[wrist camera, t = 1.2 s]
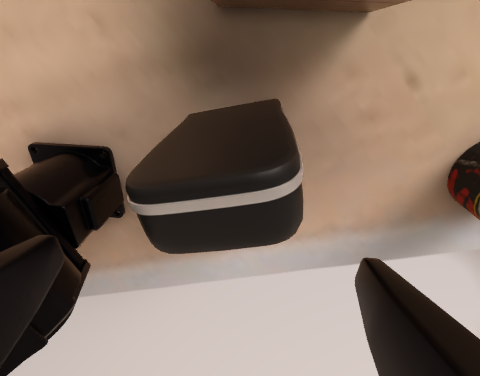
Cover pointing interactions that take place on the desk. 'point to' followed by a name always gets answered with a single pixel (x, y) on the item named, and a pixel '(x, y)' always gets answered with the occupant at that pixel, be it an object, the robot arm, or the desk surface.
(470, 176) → the deodorant
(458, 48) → the desk surface
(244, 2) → the shelf
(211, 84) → the desk surface
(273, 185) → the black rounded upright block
